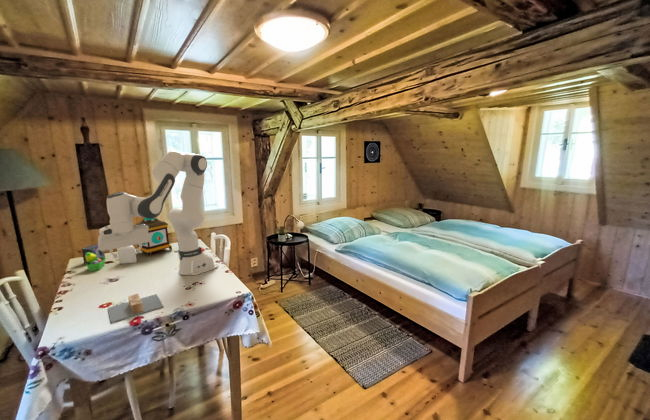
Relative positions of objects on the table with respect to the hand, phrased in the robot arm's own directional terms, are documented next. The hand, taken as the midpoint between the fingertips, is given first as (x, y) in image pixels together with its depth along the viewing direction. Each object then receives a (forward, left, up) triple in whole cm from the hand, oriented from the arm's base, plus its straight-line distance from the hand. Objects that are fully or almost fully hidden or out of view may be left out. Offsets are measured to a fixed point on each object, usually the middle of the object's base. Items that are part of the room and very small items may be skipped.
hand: (127, 255), depth 138 cm
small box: (+13, -86, -24) cm, 90 cm away
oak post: (+1, +16, -21) cm, 26 cm away
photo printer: (-4, -66, -24) cm, 70 cm away
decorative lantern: (-22, -79, -24) cm, 85 cm away
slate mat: (+1, +9, -24) cm, 25 cm away
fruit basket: (+13, -68, -24) cm, 73 cm away
